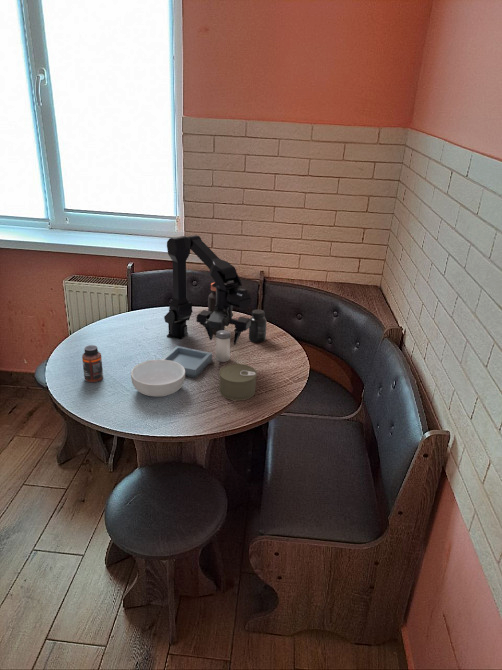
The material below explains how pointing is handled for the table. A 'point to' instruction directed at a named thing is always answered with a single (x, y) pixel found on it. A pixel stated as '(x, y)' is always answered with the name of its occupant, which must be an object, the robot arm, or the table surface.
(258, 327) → the supplement bottle
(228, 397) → the can
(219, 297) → the robot arm
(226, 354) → the shaker
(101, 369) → the supplement bottle
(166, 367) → the cereal bowl
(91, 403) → the table surface
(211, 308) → the vinegar
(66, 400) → the table surface
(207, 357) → the tray
